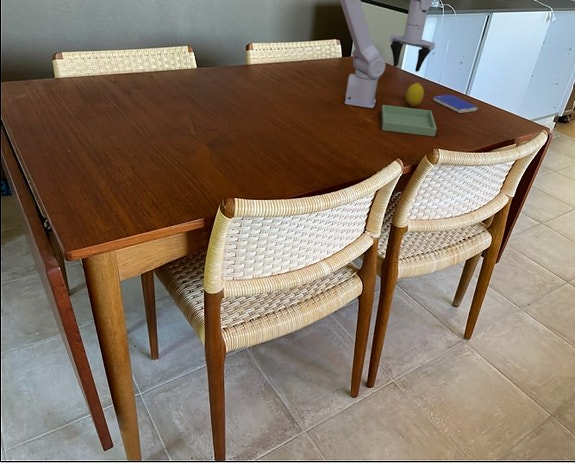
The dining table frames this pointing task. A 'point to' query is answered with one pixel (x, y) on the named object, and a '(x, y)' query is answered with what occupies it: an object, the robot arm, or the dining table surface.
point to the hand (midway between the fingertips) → (406, 68)
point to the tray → (408, 120)
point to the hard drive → (455, 103)
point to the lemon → (414, 94)
